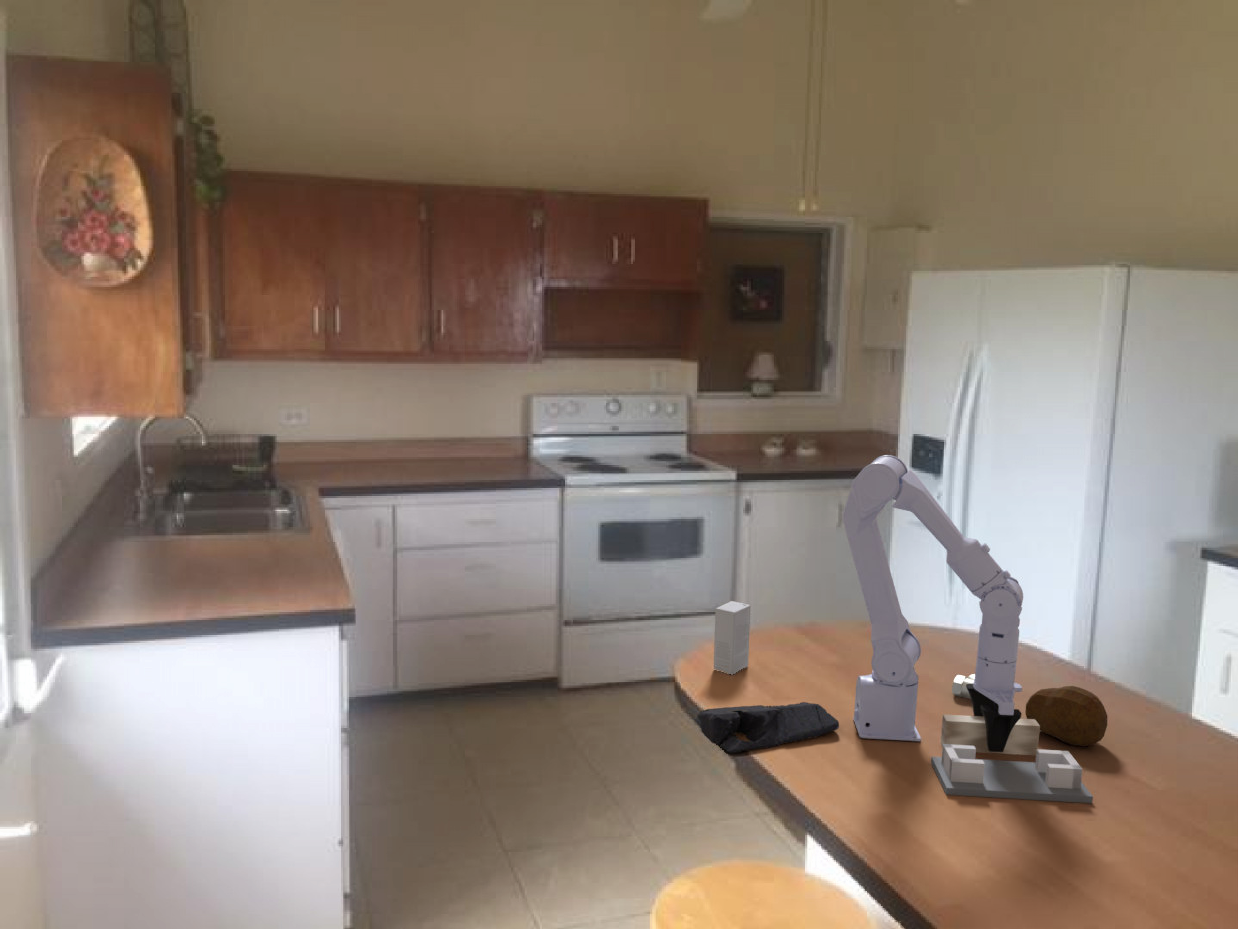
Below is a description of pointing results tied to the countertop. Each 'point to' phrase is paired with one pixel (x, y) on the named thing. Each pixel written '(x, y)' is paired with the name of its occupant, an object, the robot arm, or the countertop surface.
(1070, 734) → the potato
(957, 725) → the slat
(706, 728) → the black folded cloth
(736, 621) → the skincare box
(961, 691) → the pipe fitting
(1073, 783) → the board
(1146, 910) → the countertop surface
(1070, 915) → the countertop surface
